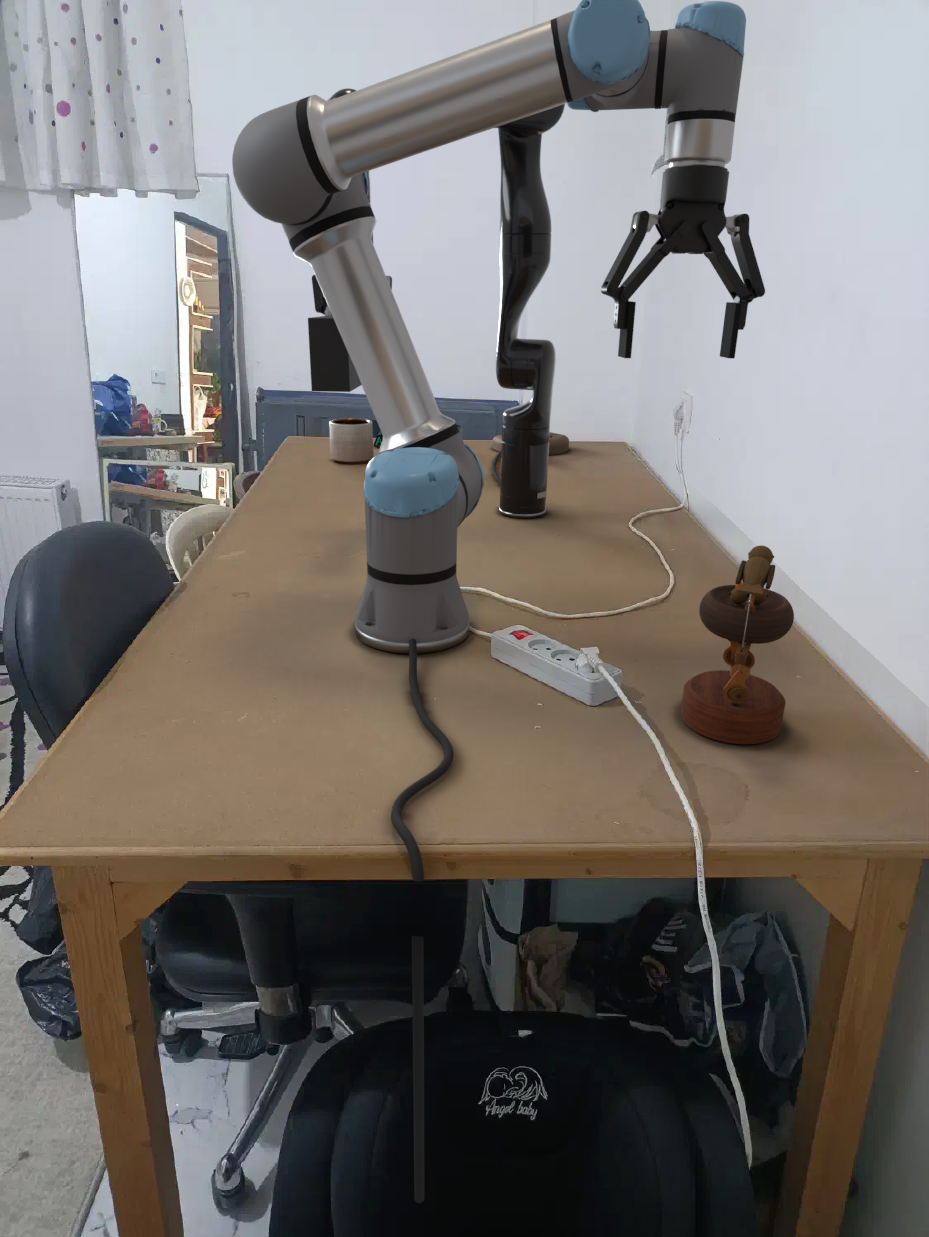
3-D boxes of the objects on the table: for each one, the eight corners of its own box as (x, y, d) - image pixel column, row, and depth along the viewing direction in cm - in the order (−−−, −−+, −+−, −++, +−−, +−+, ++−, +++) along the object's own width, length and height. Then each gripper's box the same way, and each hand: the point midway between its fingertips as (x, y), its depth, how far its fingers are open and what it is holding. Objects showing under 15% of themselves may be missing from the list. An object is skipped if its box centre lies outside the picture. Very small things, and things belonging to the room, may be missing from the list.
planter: (327, 456, 217) (325, 418, 214) (369, 454, 220) (368, 417, 217) (334, 465, 208) (332, 425, 204) (377, 463, 211) (376, 424, 207)
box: (349, 392, 127) (347, 318, 124) (311, 391, 128) (307, 318, 124) (374, 377, 149) (372, 314, 145) (341, 377, 149) (339, 314, 145)
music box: (801, 756, 85) (818, 567, 77) (689, 756, 86) (695, 570, 79) (768, 687, 99) (780, 521, 91) (672, 688, 100) (676, 525, 93)
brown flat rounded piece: (498, 464, 212) (499, 447, 210) (490, 443, 238) (490, 428, 236) (581, 464, 213) (583, 447, 211) (564, 443, 239) (565, 428, 237)
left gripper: (780, 174, 103) (754, 354, 111) (583, 166, 100) (571, 354, 108) (812, 167, 97) (783, 360, 105) (603, 159, 93) (589, 360, 101)
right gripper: (399, 235, 139) (401, 341, 145) (322, 235, 143) (326, 338, 150) (380, 233, 132) (382, 344, 139) (299, 233, 137) (305, 341, 143)
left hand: (676, 357), depth 106 cm, fingers open, 13 cm apart
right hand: (353, 340), depth 144 cm, fingers closed on box, 6 cm apart
